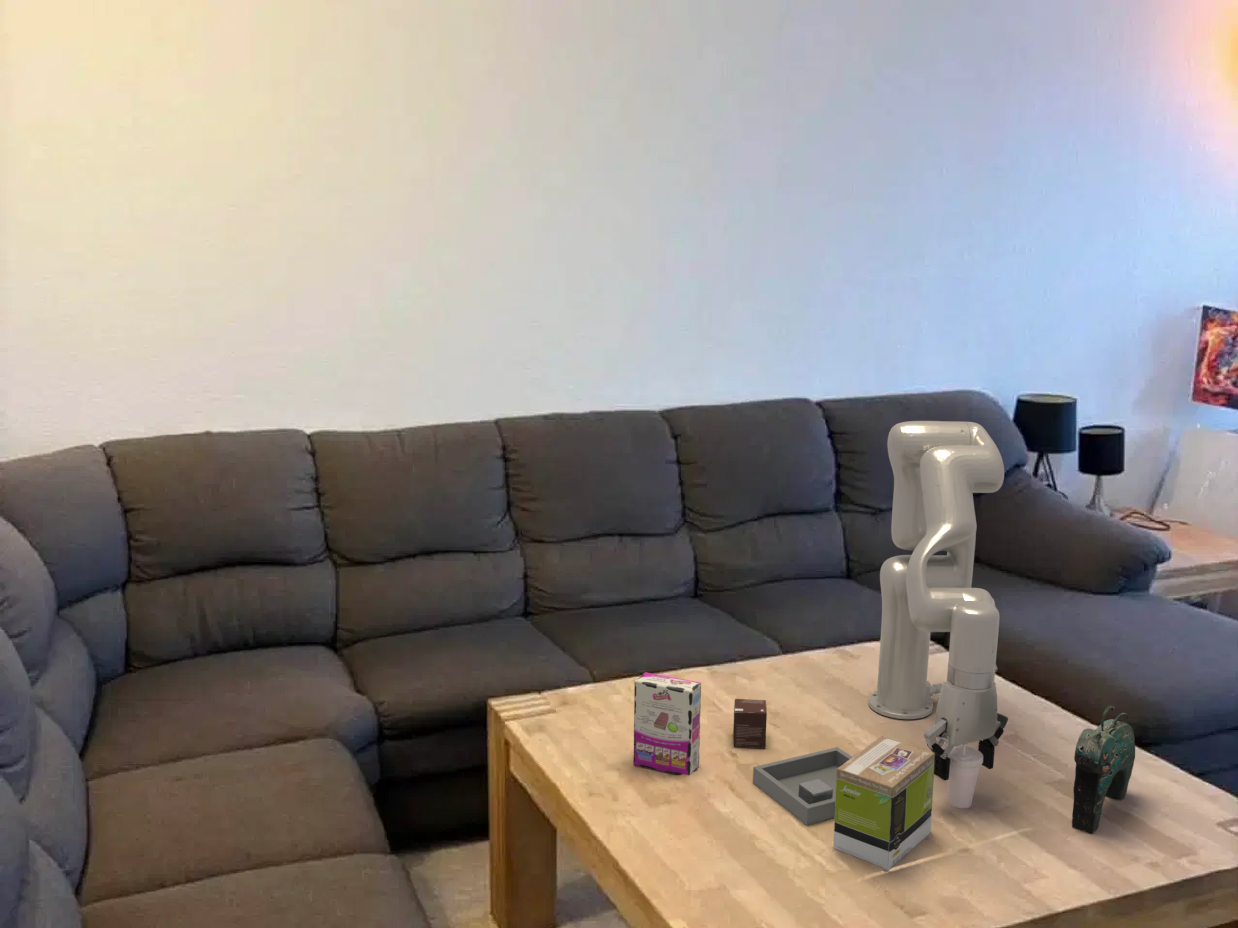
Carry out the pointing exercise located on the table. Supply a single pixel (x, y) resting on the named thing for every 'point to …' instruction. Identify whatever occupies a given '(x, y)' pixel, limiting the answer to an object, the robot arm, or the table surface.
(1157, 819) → the table surface
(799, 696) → the table surface
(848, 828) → the tea box
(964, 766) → the smoothie
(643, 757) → the candy bar box
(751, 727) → the box
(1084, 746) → the green animal figurine
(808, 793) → the metal block
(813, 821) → the tray
